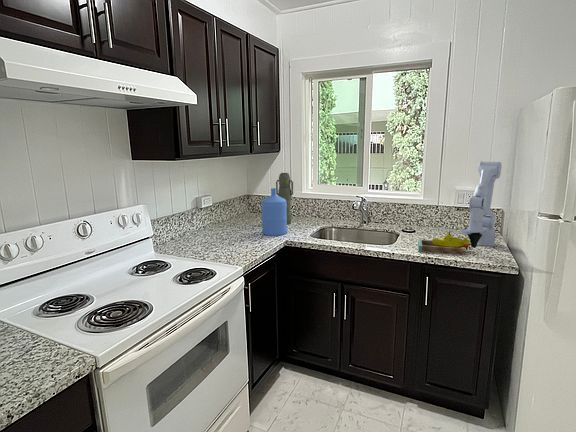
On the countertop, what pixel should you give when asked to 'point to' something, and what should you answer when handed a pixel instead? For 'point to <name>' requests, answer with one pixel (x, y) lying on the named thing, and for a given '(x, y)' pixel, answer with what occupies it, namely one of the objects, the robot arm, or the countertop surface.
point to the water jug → (274, 215)
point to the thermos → (285, 192)
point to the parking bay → (437, 248)
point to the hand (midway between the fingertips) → (473, 247)
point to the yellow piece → (451, 242)
